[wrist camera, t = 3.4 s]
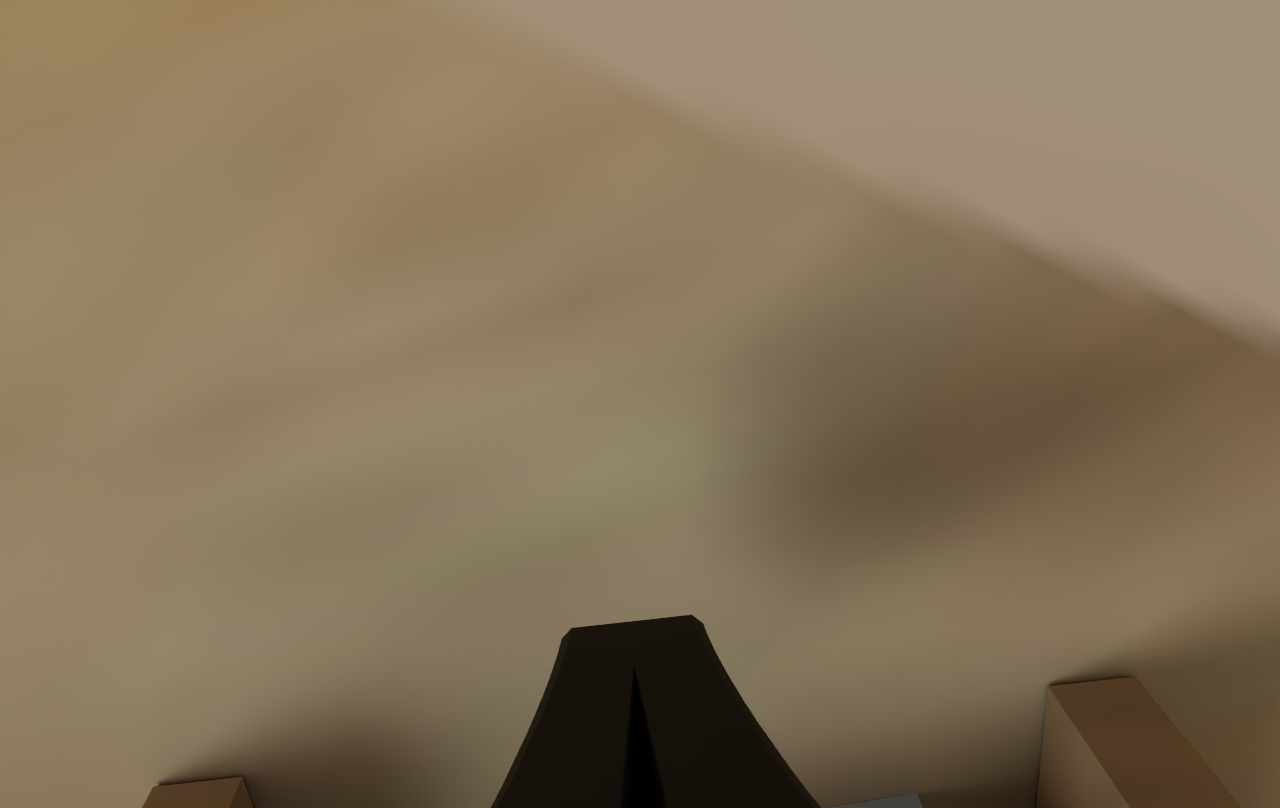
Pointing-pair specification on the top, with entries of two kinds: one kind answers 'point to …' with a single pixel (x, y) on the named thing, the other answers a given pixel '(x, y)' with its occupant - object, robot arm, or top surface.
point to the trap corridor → (1069, 767)
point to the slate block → (888, 802)
